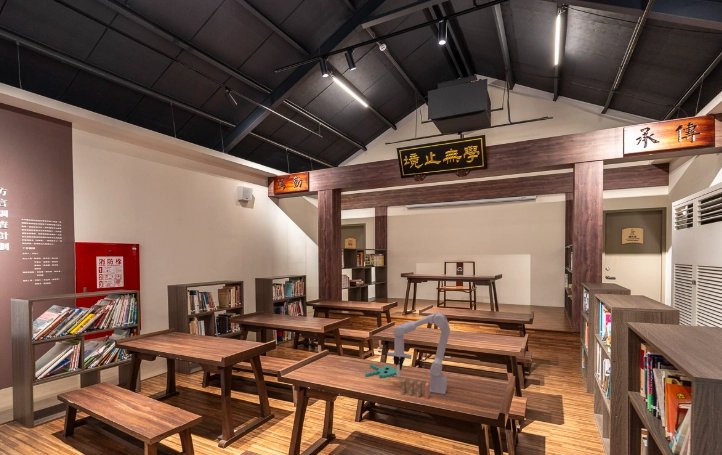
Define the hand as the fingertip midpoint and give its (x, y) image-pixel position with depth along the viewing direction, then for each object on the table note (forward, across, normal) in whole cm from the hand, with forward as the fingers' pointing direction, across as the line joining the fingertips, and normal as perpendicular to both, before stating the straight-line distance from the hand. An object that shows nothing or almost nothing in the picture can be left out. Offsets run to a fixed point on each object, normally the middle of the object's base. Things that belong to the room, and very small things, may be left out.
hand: (399, 369), depth 214 cm
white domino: (+4, 0, 0) cm, 4 cm away
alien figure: (+10, +16, -18) cm, 27 cm away
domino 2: (+10, -10, +9) cm, 16 cm away
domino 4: (+10, -19, +9) cm, 23 cm away
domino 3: (+10, -14, +9) cm, 19 cm away
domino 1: (+10, -5, +9) cm, 14 cm away
